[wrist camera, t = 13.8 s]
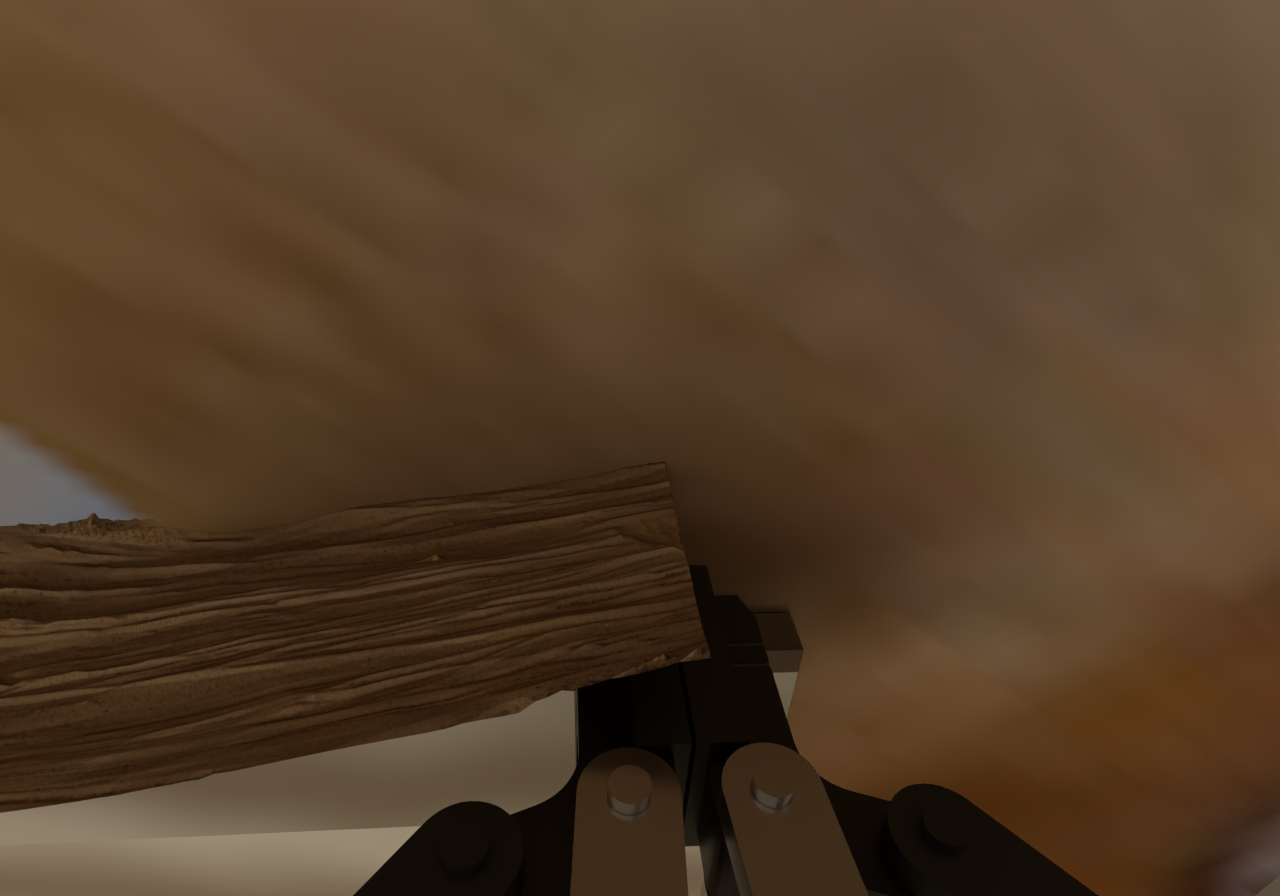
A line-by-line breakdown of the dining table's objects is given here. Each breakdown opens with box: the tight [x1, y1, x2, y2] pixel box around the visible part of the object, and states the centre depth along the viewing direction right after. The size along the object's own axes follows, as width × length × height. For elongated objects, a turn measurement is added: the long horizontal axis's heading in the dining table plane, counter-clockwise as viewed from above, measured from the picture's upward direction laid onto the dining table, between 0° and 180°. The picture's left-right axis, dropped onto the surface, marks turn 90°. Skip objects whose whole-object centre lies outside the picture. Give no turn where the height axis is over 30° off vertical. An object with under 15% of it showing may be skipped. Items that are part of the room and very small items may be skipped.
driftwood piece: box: [0, 462, 711, 813], centre depth 11 cm, size 15×2×5 cm, turn 96°
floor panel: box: [0, 613, 803, 896], centre depth 16 cm, size 10×20×1 cm, turn 87°
